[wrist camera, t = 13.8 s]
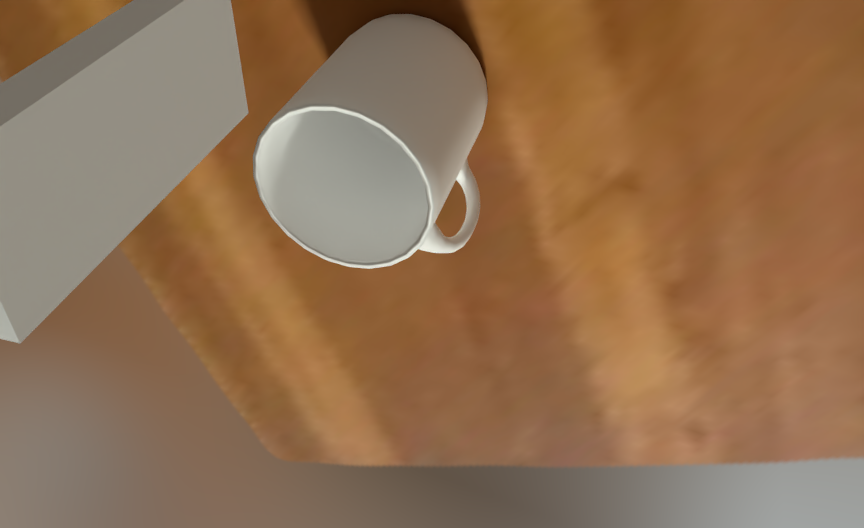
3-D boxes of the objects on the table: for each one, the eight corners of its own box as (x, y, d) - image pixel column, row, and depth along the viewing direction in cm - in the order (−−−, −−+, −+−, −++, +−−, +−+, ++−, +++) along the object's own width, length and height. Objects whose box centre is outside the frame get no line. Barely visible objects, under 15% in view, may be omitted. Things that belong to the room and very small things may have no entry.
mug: (382, -26, 43) (294, 62, 34) (559, 99, 44) (517, 213, 36) (316, 98, 49) (228, 199, 40) (473, 203, 51) (420, 323, 42)
